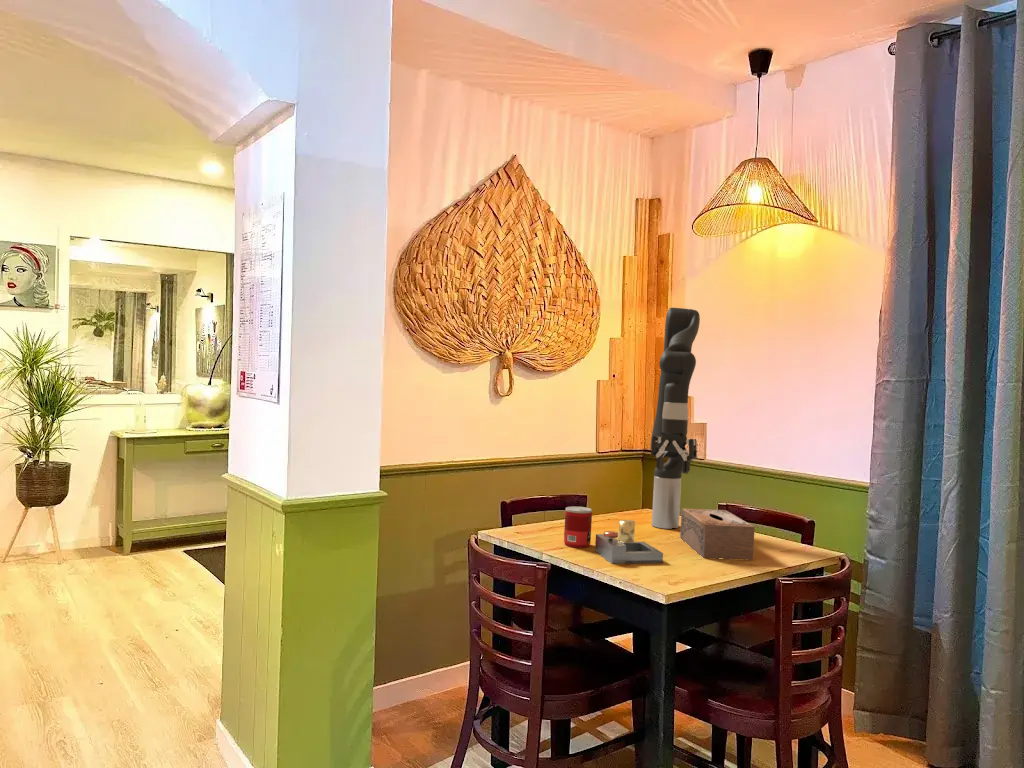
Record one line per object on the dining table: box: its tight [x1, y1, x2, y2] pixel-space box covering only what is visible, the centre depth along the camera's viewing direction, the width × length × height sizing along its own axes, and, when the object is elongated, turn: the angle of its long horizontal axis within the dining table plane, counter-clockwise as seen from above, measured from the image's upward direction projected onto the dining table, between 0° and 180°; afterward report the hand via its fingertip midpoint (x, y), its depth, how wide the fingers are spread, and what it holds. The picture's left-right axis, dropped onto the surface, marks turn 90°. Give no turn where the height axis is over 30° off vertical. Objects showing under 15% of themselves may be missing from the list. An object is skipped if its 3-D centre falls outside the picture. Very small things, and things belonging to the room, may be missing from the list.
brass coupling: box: [617, 519, 636, 542], centre depth 235 cm, size 5×5×7 cm
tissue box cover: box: [679, 508, 756, 561], centre depth 233 cm, size 26×14×10 cm, turn 2°
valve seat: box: [594, 530, 664, 565], centre depth 218 cm, size 14×15×7 cm
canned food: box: [563, 506, 593, 549], centre depth 230 cm, size 8×8×11 cm
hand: (672, 472), depth 229 cm, fingers open, 8 cm apart
